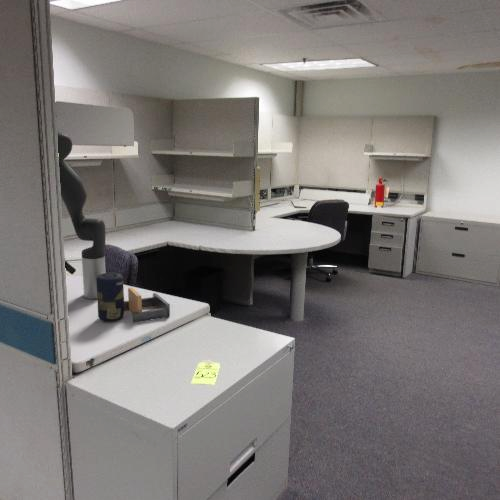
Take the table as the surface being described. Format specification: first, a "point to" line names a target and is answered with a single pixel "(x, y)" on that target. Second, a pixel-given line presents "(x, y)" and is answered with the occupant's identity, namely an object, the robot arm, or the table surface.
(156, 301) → the tray
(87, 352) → the table surface
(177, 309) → the table surface
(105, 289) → the canister
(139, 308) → the plate
